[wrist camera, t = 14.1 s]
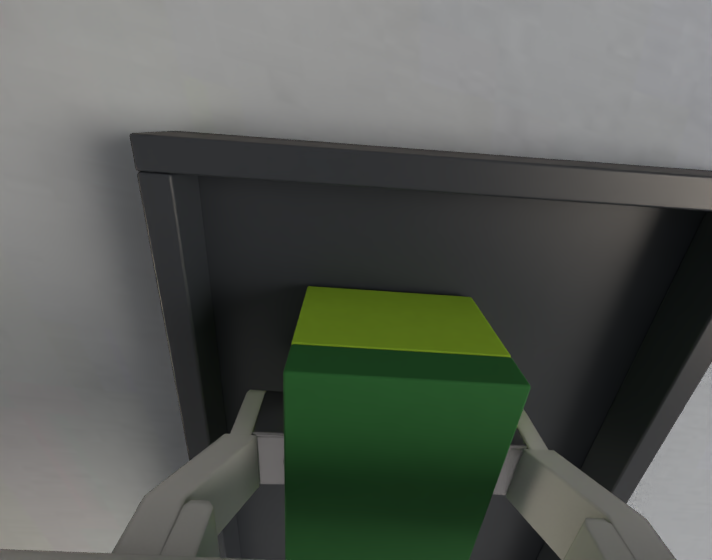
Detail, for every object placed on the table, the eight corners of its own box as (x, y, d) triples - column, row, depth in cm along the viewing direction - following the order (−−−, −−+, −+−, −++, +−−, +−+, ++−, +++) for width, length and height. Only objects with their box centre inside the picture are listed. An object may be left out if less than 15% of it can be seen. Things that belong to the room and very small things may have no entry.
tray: (173, 130, 9) (127, 133, 8) (730, 172, 10) (820, 183, 8) (236, 597, 19) (223, 650, 17) (515, 606, 20) (533, 659, 18)
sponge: (307, 285, 10) (282, 372, 7) (471, 296, 11) (532, 386, 7) (303, 450, 13) (285, 574, 10) (433, 457, 14) (462, 581, 10)
